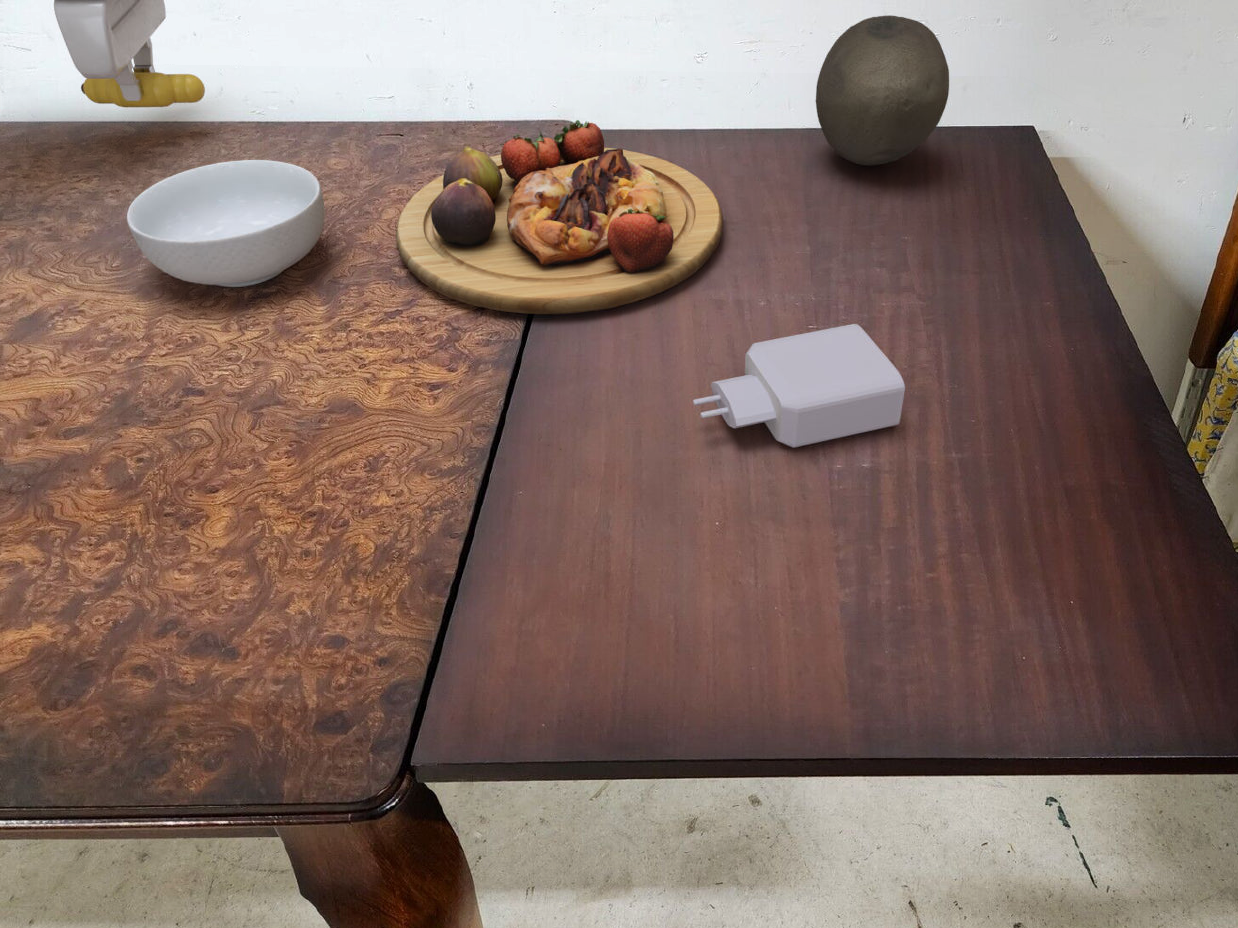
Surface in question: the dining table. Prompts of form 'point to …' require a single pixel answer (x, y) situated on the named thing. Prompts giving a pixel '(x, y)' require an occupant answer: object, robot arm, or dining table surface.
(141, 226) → the cereal bowl
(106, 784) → the dining table surface
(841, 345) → the charger
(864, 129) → the kiwi fruit
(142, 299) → the dining table surface
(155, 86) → the yellow lumpy cylinder
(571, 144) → the wooden plate
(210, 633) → the dining table surface
